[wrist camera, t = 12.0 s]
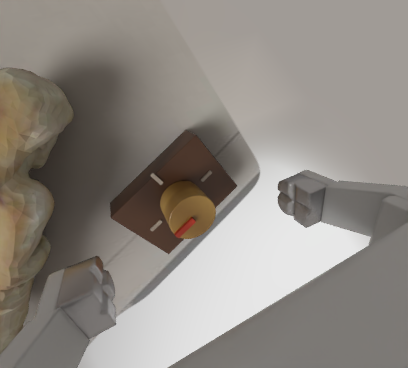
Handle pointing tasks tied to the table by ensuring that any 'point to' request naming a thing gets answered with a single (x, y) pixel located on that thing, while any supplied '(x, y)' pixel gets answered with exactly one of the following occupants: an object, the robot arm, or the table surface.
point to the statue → (24, 187)
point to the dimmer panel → (160, 180)
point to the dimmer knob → (187, 209)
